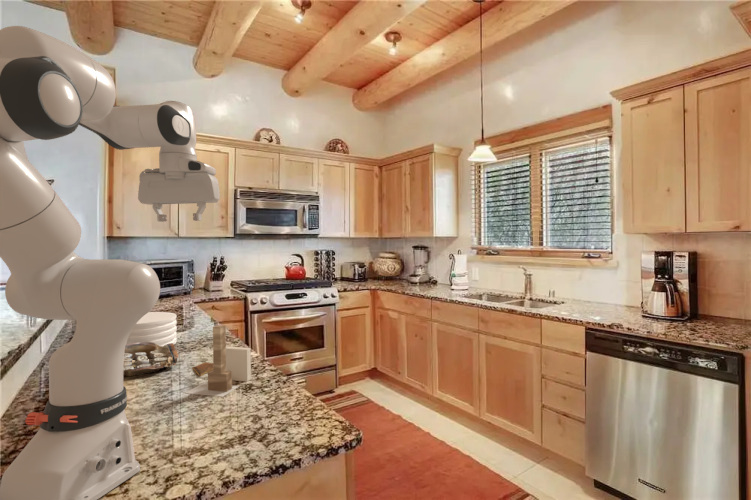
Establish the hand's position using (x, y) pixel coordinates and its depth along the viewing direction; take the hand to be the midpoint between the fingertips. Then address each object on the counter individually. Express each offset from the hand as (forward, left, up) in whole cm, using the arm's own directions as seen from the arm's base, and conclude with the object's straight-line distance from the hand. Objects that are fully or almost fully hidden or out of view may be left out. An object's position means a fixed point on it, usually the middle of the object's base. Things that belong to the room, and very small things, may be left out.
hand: (179, 220), depth 103 cm
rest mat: (+9, -4, -48) cm, 49 cm away
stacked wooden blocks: (+9, -6, -47) cm, 49 cm away
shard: (+26, +6, -48) cm, 55 cm away
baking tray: (+30, +31, -48) cm, 65 cm away
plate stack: (+57, +51, -48) cm, 91 cm away
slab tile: (+18, -7, -48) cm, 51 cm away
